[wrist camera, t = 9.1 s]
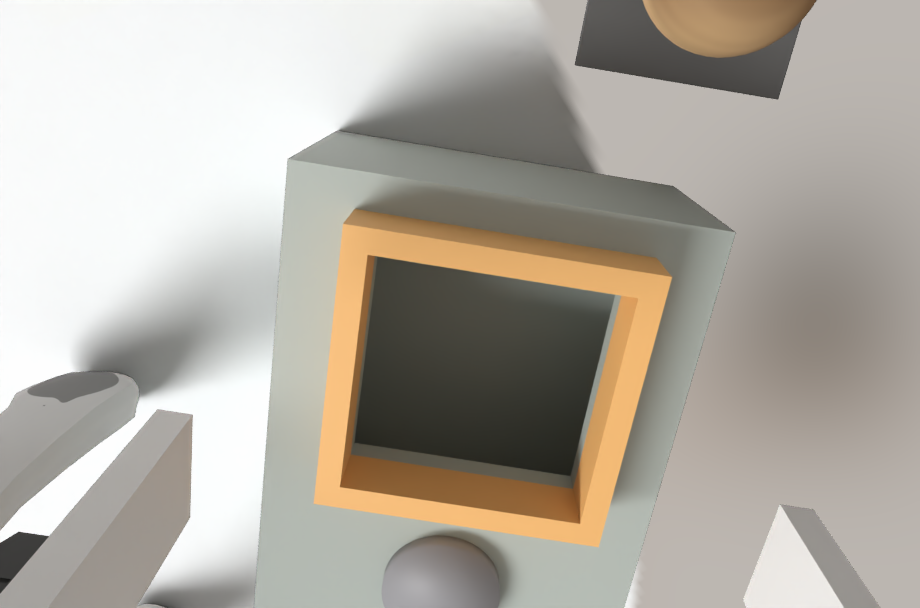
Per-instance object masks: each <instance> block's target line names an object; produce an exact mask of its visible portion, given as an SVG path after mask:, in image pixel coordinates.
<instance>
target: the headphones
mask: <svg viewBox="0 0 920 608" xmlns="http://www.w3.org/2000/svg"><path fill="white" fill-rule="evenodd" d="M138 400H139V388H138V386H137V384H136V383H135V381H134V379H133V378H131V377H129V376H127V375H125V374H120V373H114V372H99V371H87V372H71V373H67V374H64V375H61V376H57V377H54V378H52V379H49V380H46V381H44V382H41V383H38V384H36V385H33V386H31V387H29V388H26V389H24V390H22V391H20V392H18V393H16V394H15V396H14V398H13V400H12V401H11V403H10V405H9V407H8V408H7V409H6V410H4V411H3V412H2V413H1V414H0V530H1V529H2V528H3V527H4V526H5V525H6V523H7V522H8V521H9V520H10V519H11V518H12V517H13V515H14V514H15V513H16V512H17V511H18V510H19V509H20V507H22V506H23V505H24V504H25V503H26V502H27V501H29V500H30V499H31V498H32V497H33V496H35V495H36V494H37V493H38V492H39V491H40V490H42V489H43V488H44V487H45V486H46V485H48V484H49V483H50V482H51V481H52V480H53V479H55V478H56V477H57V476H58V475H59V474H61V473H62V472H63V471H64V470H66V469H67V468H68V467H69V466H71V465H72V464H73V463H75V462H76V461H77V460H78V459H80V458H81V457H82V456H84V455H85V454H86V453H88V452H89V451H90V450H91V449H93V448H94V447H95V446H97V445H98V444H99V443H100V442H102V441H103V440H105V439H106V438H108V437H109V436H110V435H112V434H113V433H115V432H116V431H117V430H119V429H120V428H122V427H123V426H124V425H125V424H127V423H128V422H129V421H130V420H131V419H133V418H134V417H135V413H136V407H137V404H138ZM136 608H165V607H162V606H159V605H153V604H143V605H138V606H137V607H136Z"/></svg>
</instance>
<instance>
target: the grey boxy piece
mask: <svg viewBox="0 0 920 608" xmlns="http://www.w3.org/2000/svg"><path fill="white" fill-rule="evenodd" d="M735 234H736V232H734V231H733V230H732V229H730V228H729V227H728V226H727V225H725V224H724V223H722V222H721V221H720V220H718V219H717V218H716V217H714V216H713V215H712V214H710V213H709V212H708V211H706V210H705V209H703V208H702V207H701V206H700V205H698V204H697V203H696V202H694V201H693V200H691V199H690V198H689V197H687V196H686V195H685V194H683V193H682V192H681V191H679V190H678V189H677V188H675V187H674V186H669V185H663V184H657V183H651V182H645V181H639V180H633V179H627V178H621V177H615V176H609V175H603V174H597V173H590V172H584V171H578V170H572V169H566V168H560V167H554V166H548V165H542V164H536V163H530V162H524V161H518V160H512V159H506V158H500V157H493V156H487V155H481V154H475V153H469V152H463V151H457V150H451V149H445V148H439V147H433V146H427V145H421V144H415V143H409V142H403V141H396V140H390V139H384V138H378V137H372V136H366V135H360V134H354V133H348V132H342V131H335V132H334V133H332V134H330V135H329V136H327V137H325V138H323V139H322V140H320V141H318V142H316V143H315V144H313V145H311V146H309V147H308V148H306V149H304V150H302V151H301V152H299V153H297V154H296V155H294V156H292V157H290V158H289V159H288V161H287V175H286V188H285V201H284V214H283V228H282V241H281V254H280V267H279V281H278V294H277V307H276V320H275V333H274V347H273V360H272V373H271V386H270V400H269V413H268V426H267V439H266V453H265V466H264V479H263V492H262V506H261V519H260V532H259V545H258V558H257V572H256V585H255V598H254V608H624V606H625V603H626V600H627V596H628V593H629V590H630V586H631V583H632V580H633V576H634V573H635V569H636V566H637V563H638V559H639V556H640V553H641V549H642V546H643V543H644V539H645V536H646V532H647V529H648V526H649V522H650V519H651V516H652V512H653V509H654V506H655V502H656V499H657V496H658V492H659V489H660V485H661V482H662V478H663V475H664V472H665V469H666V465H667V462H668V459H669V455H670V452H671V448H672V445H673V442H674V438H675V435H676V432H677V428H678V425H679V422H680V418H681V414H682V411H683V408H684V405H685V401H686V398H687V394H688V391H689V388H690V385H691V381H692V378H693V375H694V371H695V368H696V364H697V361H698V358H699V354H700V351H701V348H702V344H703V341H704V338H705V334H706V330H707V328H708V324H709V321H710V318H711V314H712V311H713V307H714V304H715V300H716V297H717V294H718V290H719V287H720V284H721V280H722V277H723V274H724V271H725V267H726V264H727V260H728V257H729V253H730V250H731V247H732V244H733V240H734V237H735Z"/></svg>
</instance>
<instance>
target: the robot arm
mask: <svg viewBox="0 0 920 608" xmlns="http://www.w3.org/2000/svg"><path fill="white" fill-rule="evenodd" d="M192 419H193V415H191V414H185V413H178V412H172V411H165V410H158V409H157V410H156V412H155V413H154V414H153V415H152V416H151V418H150V419H149V420H148V421H147V422H146V423H145V425H144V426H143V427H142V428H141V429H140V430H139V432H138V433H137V434H136V435H135V436H134V437H133V439H132V440H131V441H130V442H129V443H128V445H127V446H126V447H125V448H124V449H123V450H122V452H121V453H120V454H119V455H118V456H117V457H116V459H115V460H114V461H113V462H112V463H111V464H110V466H109V467H108V468H107V469H106V470H105V471H104V473H103V474H102V475H101V476H100V477H99V479H98V480H97V481H96V482H95V483H94V484H93V486H92V487H91V488H90V489H89V490H88V491H87V493H86V494H85V495H84V496H83V497H82V498H81V500H80V501H79V502H78V503H77V504H76V505H75V507H74V508H73V509H72V510H71V511H70V513H69V514H68V515H67V516H66V517H65V518H64V520H63V521H62V522H61V523H60V524H59V525H58V527H57V528H56V529H55V530H54V531H53V532H52V534H51V535H50V536H43V535H37V534H30V533H23V532H18V533H16V534H14V535H13V536H11V537H9V538H8V539H6V540H4V541H3V542H1V543H0V608H136V607H137V605H138V604H139V602H140V600H141V599H142V597H143V595H144V594H145V592H146V590H147V589H148V587H149V585H150V584H151V582H152V580H153V579H154V577H155V575H156V574H157V572H158V570H159V569H160V567H161V565H162V564H163V562H164V560H165V559H166V557H167V555H168V553H169V552H170V550H171V548H172V547H173V545H174V543H175V542H176V540H177V538H178V537H179V535H180V533H181V532H182V530H183V528H184V527H185V525H186V523H187V522H188V520H189V518H190V499H191V459H192ZM743 601H744V603H745V605H746V607H747V608H880V607H879V605H878V604H877V602H876V601H875V599H874V598H873V596H872V595H871V593H870V592H869V590H868V589H867V587H866V586H865V584H864V583H863V581H862V580H861V579H860V577H859V576H858V574H857V573H856V571H855V570H854V568H853V567H852V566H851V564H850V562H849V561H848V559H847V558H846V556H845V555H844V554H843V552H842V551H841V549H840V548H839V546H838V545H837V543H836V542H835V540H834V539H833V537H832V536H831V534H830V533H829V532H828V530H827V529H826V527H825V526H824V524H823V523H822V521H821V520H820V518H819V517H818V515H817V514H816V512H815V511H814V510H813V509H807V508H800V507H794V506H787V505H781V504H780V506H779V508H778V511H777V514H776V516H775V519H774V521H773V524H772V526H771V529H770V532H769V534H768V537H767V540H766V542H765V545H764V547H763V550H762V552H761V555H760V558H759V560H758V563H757V566H756V568H755V571H754V574H753V576H752V578H751V581H750V583H749V586H748V589H747V591H746V594H745V597H744V599H743Z"/></svg>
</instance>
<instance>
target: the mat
mask: <svg viewBox="0 0 920 608" xmlns="http://www.w3.org/2000/svg"><path fill="white" fill-rule="evenodd" d="M800 24H801V22H800V23H798V24H797V25H796V26H795V27H794V28H793V29H792V30H791V31H790V32H788V33H787V34H786V35H785V36H783V37H782V38H780V39H779V40H777V41H775V42H774V43H772V44H770V45H769V46H767V47H765V48H762V49H760V50H758V51H755V52H752V53H749V54H746V55H740V56H735V57H725V58H715V57H706V56H702V55H698V54H694V53H692V52H689V51H687V50H684V49H682V48H680V47H679V46H677V45H675V44H674V43H672V42H671V41H670V40H669V39H667V38H666V37H665V36H664V35H663V34H662V33H661V32H660V31H659V30H658V29H657V27H656V26H655V24H654V23H653V22H652V20H651V19H650V17H649V15H648V13H647V11H646V9H645V6H644V3H643V0H588V2H587V7H586V12H585V17H584V21H583V26H582V31H581V37H580V41H579V47H578V52H577V56H576V61H575V65H577V66H583V67H588V68H595V69H600V70H606V71H612V72H619V73H624V74H630V75H636V76H642V77H648V78H654V79H660V80H666V81H671V82H678V83H683V84H690V85H695V86H701V87H707V88H713V89H719V90H726V91H731V92H737V93H743V94H749V95H755V96H760V97H766V98H773V99H778V98H779V95H780V91H781V88H782V85H783V81H784V78H785V75H786V71H787V68H788V65H789V61H790V58H791V54H792V51H793V48H794V45H795V41H796V38H797V34H798V31H799V27H800Z"/></svg>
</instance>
